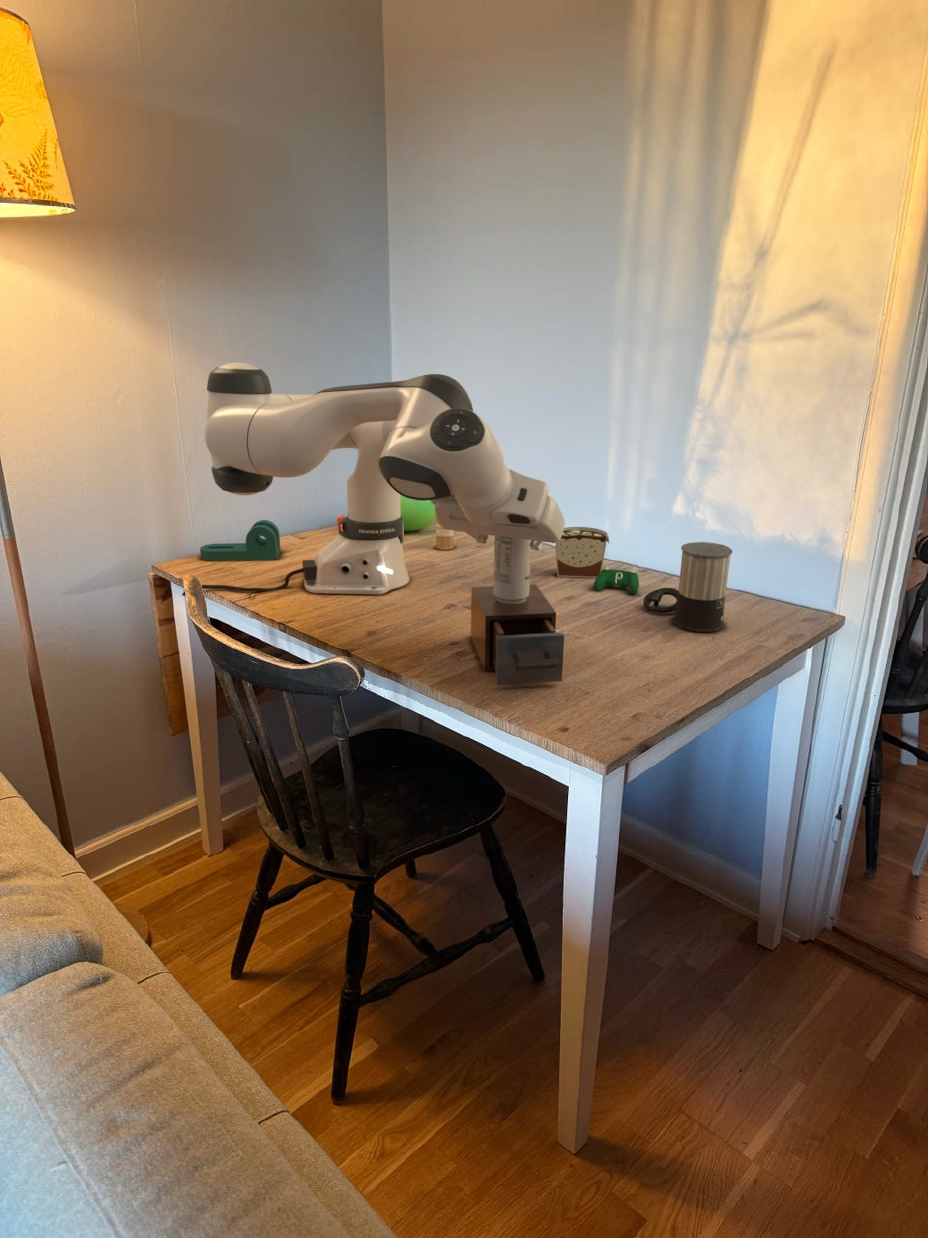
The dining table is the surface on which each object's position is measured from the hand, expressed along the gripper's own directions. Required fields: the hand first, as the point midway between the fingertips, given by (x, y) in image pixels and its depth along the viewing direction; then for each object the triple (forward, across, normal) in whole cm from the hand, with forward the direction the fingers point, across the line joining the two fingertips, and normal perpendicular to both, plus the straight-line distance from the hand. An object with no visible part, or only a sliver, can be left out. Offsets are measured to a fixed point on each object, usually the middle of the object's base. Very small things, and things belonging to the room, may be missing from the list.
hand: (510, 542), depth 134 cm
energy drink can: (+8, 0, -6) cm, 11 cm away
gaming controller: (+44, +8, +16) cm, 48 cm away
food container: (+49, -3, +21) cm, 54 cm away
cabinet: (+15, 0, -13) cm, 20 cm away
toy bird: (+61, -56, +33) cm, 89 cm away
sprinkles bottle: (+53, -39, +25) cm, 70 cm away
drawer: (+8, +6, -18) cm, 21 cm away
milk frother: (+36, +24, +8) cm, 44 cm away
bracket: (+34, -79, +5) cm, 86 cm away
